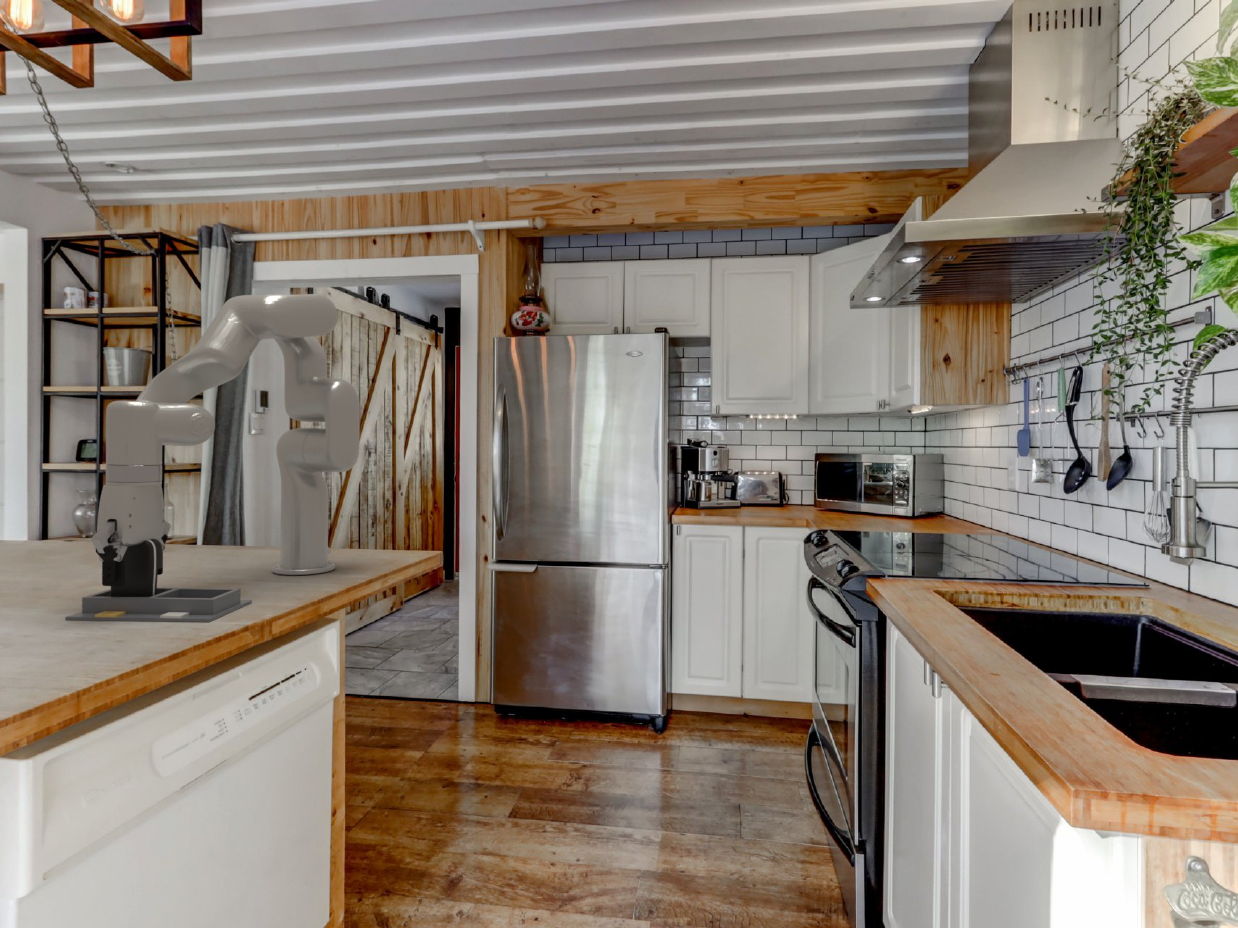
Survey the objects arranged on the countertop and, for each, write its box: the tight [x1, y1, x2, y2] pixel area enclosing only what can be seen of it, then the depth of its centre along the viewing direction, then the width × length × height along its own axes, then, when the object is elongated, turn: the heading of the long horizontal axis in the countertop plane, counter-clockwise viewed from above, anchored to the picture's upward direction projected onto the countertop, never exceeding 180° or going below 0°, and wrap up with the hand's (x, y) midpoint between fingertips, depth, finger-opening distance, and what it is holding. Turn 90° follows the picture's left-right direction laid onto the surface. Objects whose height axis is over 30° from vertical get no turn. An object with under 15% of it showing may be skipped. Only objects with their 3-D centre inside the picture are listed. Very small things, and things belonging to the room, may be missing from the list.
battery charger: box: [110, 539, 164, 597], centre depth 111 cm, size 7×4×11 cm, turn 92°
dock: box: [64, 587, 253, 623], centre depth 111 cm, size 13×22×3 cm, turn 92°
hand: (133, 579), depth 110 cm, fingers open, 8 cm apart
